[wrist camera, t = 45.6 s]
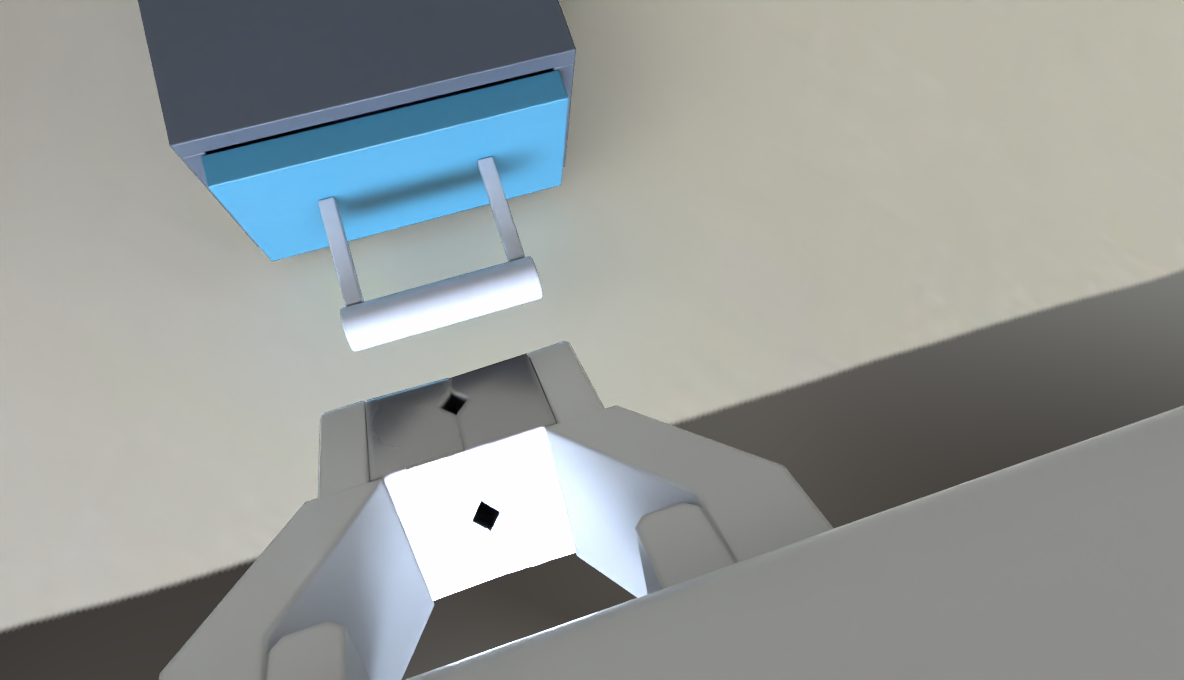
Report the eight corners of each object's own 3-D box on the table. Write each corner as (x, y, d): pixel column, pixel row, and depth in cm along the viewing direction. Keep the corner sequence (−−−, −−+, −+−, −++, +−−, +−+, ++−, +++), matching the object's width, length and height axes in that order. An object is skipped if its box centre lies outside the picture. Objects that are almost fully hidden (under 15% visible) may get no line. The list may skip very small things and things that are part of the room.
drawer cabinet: (565, 167, 36) (576, 49, 27) (257, 247, 34) (169, 146, 25) (474, -94, 39) (460, -270, 31) (189, -36, 37) (91, -207, 29)
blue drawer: (603, 307, 33) (622, 246, 27) (304, 395, 31) (245, 352, 25) (474, -68, 38) (463, -199, 31) (205, -11, 36) (132, -139, 29)
